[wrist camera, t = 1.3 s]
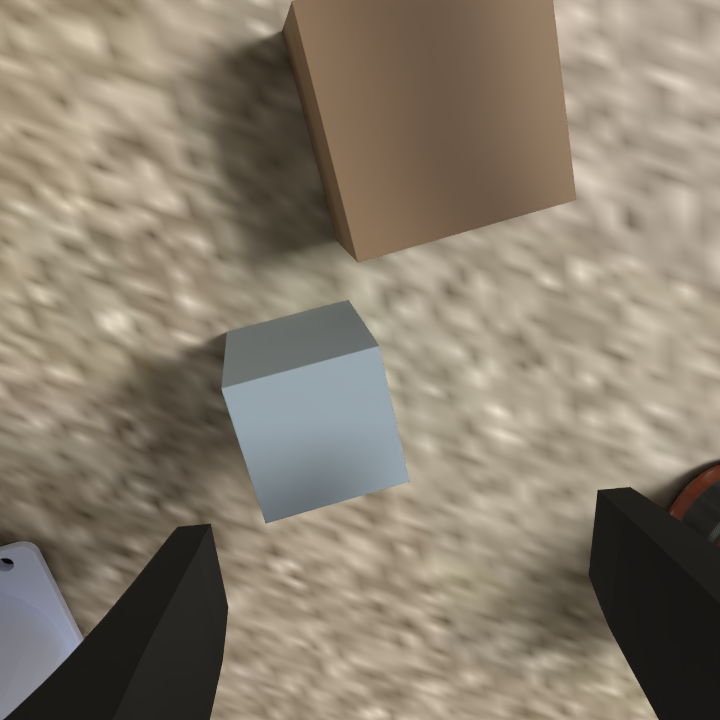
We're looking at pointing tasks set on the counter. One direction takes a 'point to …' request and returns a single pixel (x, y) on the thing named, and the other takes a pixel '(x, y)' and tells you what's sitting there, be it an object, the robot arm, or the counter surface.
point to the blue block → (312, 410)
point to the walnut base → (430, 115)
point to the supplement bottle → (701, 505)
